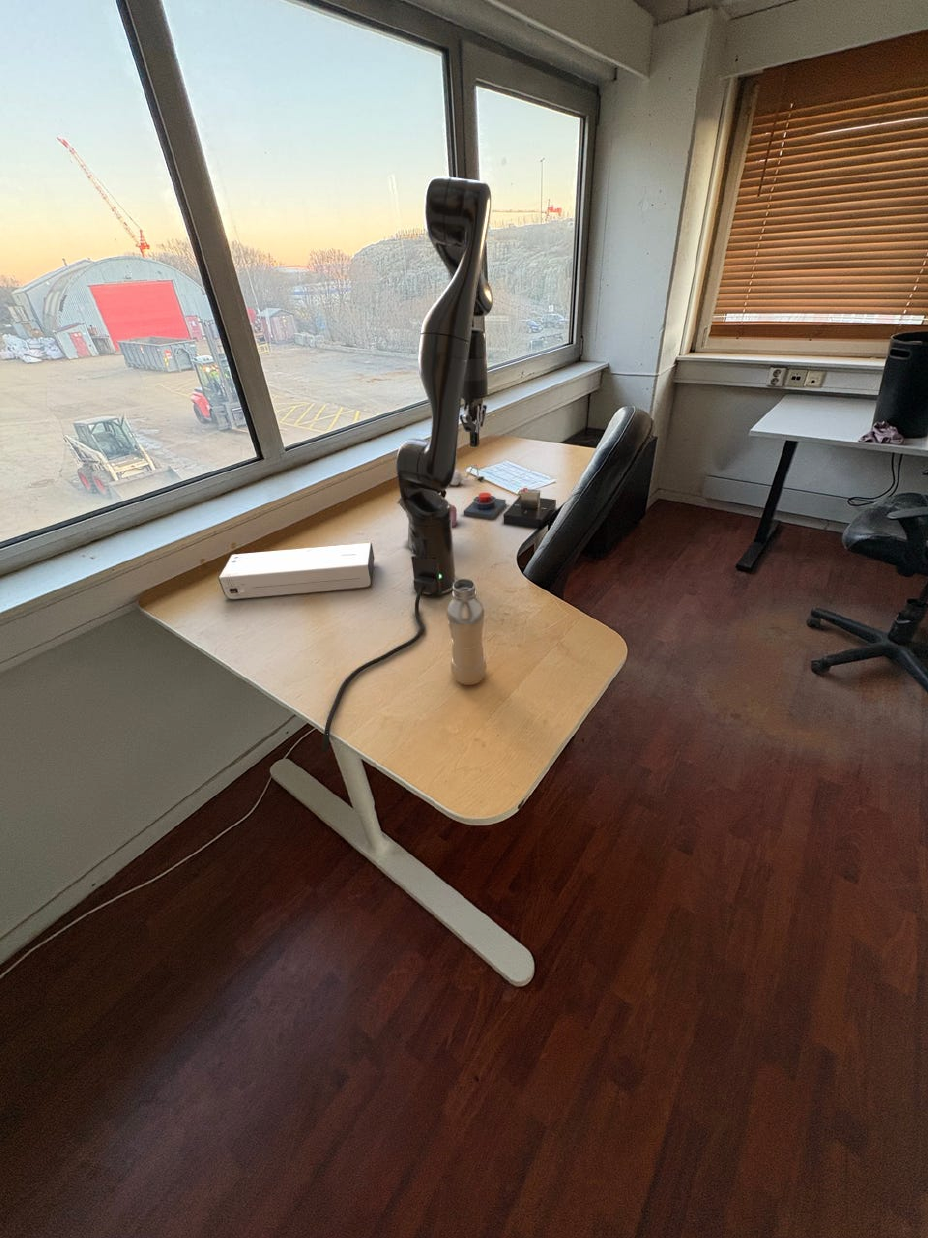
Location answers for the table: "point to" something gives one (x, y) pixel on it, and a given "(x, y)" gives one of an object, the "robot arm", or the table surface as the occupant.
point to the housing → (485, 508)
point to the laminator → (298, 571)
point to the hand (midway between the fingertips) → (474, 445)
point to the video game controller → (453, 514)
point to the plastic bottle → (466, 633)
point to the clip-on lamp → (459, 477)
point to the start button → (484, 497)
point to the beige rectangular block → (530, 498)
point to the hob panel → (529, 514)
